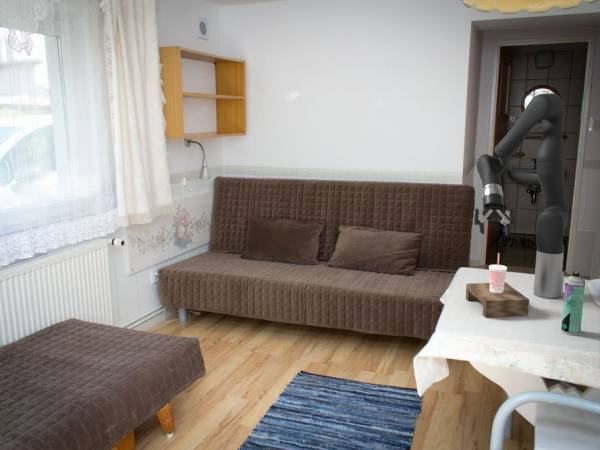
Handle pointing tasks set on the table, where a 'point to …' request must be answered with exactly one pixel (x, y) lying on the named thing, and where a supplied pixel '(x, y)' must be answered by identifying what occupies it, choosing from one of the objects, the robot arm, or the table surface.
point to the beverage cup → (497, 277)
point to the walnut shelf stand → (498, 300)
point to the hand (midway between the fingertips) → (495, 233)
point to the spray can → (573, 304)
